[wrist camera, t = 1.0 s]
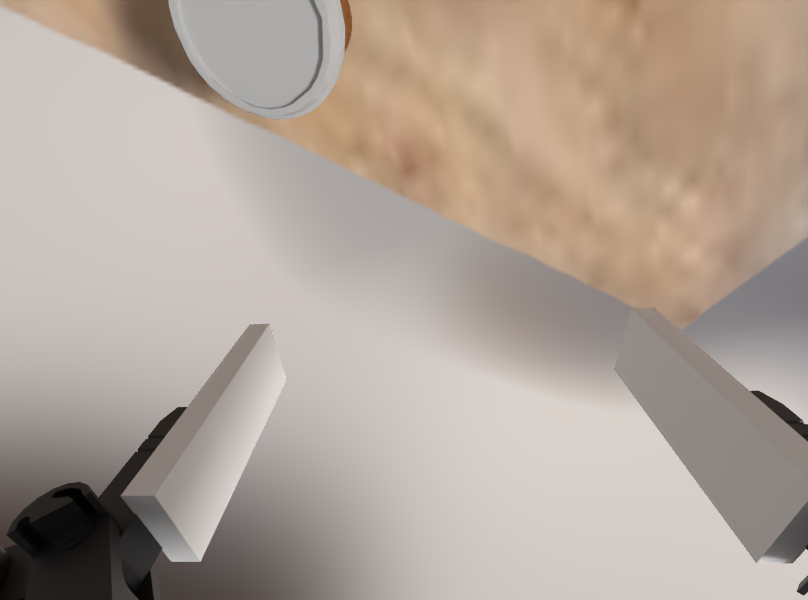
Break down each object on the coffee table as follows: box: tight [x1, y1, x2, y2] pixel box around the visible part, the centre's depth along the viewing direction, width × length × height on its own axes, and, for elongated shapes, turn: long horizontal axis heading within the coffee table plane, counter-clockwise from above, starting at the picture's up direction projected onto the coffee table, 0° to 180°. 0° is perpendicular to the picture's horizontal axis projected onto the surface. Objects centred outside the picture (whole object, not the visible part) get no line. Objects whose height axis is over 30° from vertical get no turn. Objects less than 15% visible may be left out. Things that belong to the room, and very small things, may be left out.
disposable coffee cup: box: [168, 0, 352, 120], centre depth 23 cm, size 10×10×12 cm
